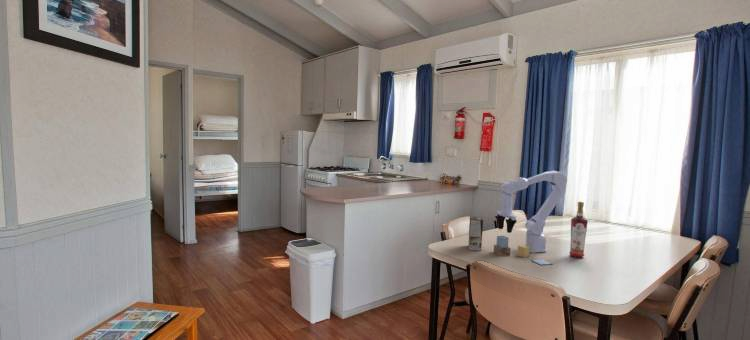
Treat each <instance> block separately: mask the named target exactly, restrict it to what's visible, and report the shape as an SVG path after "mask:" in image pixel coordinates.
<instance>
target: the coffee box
mask: <svg viewBox="0 0 750 340" xmlns="http://www.w3.org/2000/svg"><path fill="white" fill-rule="evenodd" d="M468 225H469V226H468V227H469V229H468V249H469V250H470V251H479V252H481V251H482V244H483V231H484V230H483V229H484V228H483V227H484V219H483V217H481V216H469V224H468Z"/></svg>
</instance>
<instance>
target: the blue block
mask: <svg viewBox="0 0 750 340" xmlns="http://www.w3.org/2000/svg"><path fill="white" fill-rule="evenodd" d="M495 245H496V246H498V247H500V248H506V247H509V237H508V236H505V235H497V236H496V244H495Z"/></svg>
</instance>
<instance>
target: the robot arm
mask: <svg viewBox="0 0 750 340" xmlns="http://www.w3.org/2000/svg"><path fill="white" fill-rule="evenodd" d="M508 181H509V182H503V183H502V184H501V186H500V189H499V190H500V191H501V195H500V197H501V198H500V210H496V211H495V213H496V214H495V216H494V217H495V219H496V223H497V227H498V230H503V229H504V226H505V225H504V224H506V233H509V234H510V233H512V231H513V229H514V226H515V225H516V223H517V222H518V221H517V216H516V215H514V214H513V201H514V200H513V198H514V197H513V195H514V193H515V192H519V191H522V190H525V189H527V188H528V187H529V186H530V185H533V184H536V183H537V184H538V183H540V182H543V181H545V182H548V183H549V184H550V185H551V190H552V191H551V192H550V193H549V195H548V196H547V198H546V199H545V200H544V202H543V204H542V205H541V207H540V208H539V210H538V211H537V212H536V214H535V215H532V216H531V218H530V219H528V220H527V221H526V222H525V224H524V225H525V226H524V227H525V229H526V234H525V245H526V246H529V247H530V251H529V253H531V254H532V253H535V254H536V253H547V250H546V245H547V243H546V242H547V241H546V240H547V238H546V236H545V235H544V234H543V231H544V227H545V226H546V220H547V218H548V217H549V216H550V214H551V213H552V211H553V210H554V208H555V207H556V206H557V204H559V201H560V200H561V198H562V197H563V196H564V194H565V192H566V184H567V181H568V180H567V176H566V173H564V172H562V171H556V170H554V169H553V170H550V171H545V172H542V173H539V174H536V175H533V176H530V177H528V178H525V177H521V176H520V177H517V179H515V180H508Z"/></svg>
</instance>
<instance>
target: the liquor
mask: <svg viewBox="0 0 750 340" xmlns="http://www.w3.org/2000/svg"><path fill="white" fill-rule="evenodd" d="M584 204H585V203H584V201H577V211H576V216H574V217H572V218H571V219H570V250H569V253H568V254H569V255H570V256H571V257H573V258H577V259H581V258H584V256H585V244H586V236H587V229H588V222H589V220H588V219H587V218H585V217H584V206H585V205H584Z"/></svg>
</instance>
